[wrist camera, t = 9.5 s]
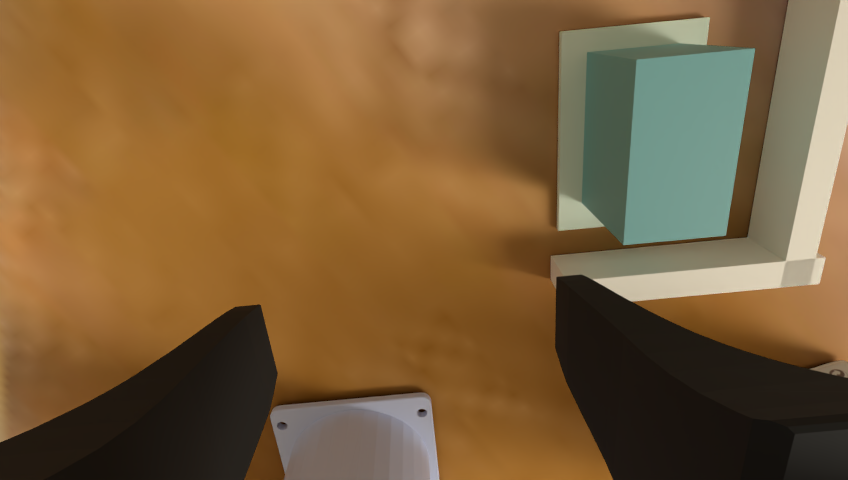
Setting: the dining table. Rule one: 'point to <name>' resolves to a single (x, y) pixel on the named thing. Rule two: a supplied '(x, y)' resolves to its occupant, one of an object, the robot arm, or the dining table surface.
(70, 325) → the dining table surface
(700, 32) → the pad
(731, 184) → the teal brick
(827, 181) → the corner walls
